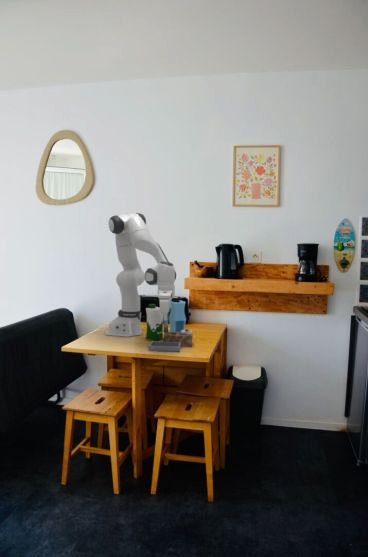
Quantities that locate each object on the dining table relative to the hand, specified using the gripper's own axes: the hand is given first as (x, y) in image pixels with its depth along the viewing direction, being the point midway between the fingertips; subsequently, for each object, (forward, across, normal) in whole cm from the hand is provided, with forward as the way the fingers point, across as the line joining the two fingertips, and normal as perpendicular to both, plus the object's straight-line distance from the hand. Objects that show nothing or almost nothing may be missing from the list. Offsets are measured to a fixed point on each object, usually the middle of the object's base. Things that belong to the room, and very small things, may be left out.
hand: (165, 319), depth 215 cm
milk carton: (+16, -20, -8) cm, 27 cm away
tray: (+16, 0, 0) cm, 16 cm away
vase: (+16, -34, +4) cm, 38 cm away
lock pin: (+7, 0, 0) cm, 7 cm away
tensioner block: (+16, -10, +7) cm, 20 cm away
